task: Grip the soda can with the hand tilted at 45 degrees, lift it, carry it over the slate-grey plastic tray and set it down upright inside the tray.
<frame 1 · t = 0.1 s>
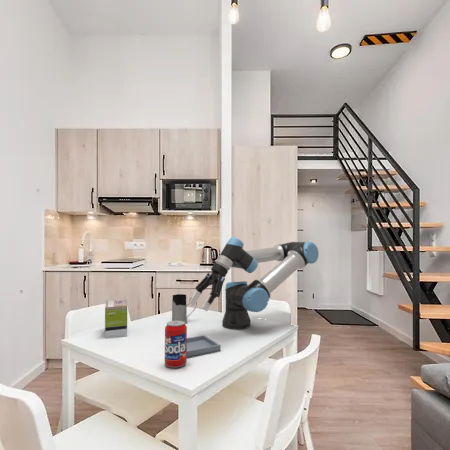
hand: (197, 306, 133), 15 cm above the table, tool tilted 35°, fingers open, 13 cm apart
tray: (195, 348, 124), on the table
tea box: (115, 333, 145), on the table
soda can: (175, 365, 108), on the table
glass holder: (184, 323, 164), on the table
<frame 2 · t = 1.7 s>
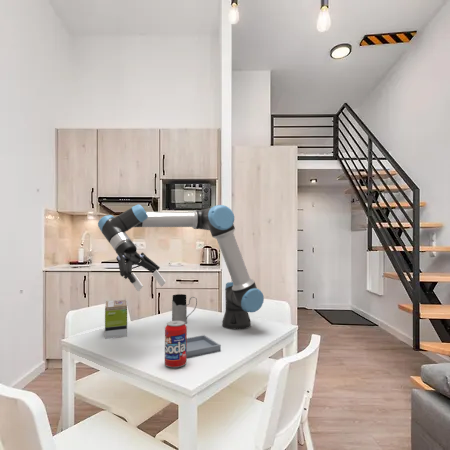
hand: (152, 286, 114), 27 cm above the table, tool tilted 45°, fingers open, 13 cm apart
nothing on the table moved.
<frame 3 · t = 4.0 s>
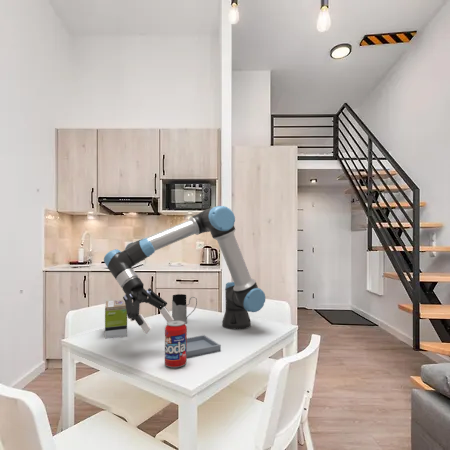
hand: (160, 326, 110), 13 cm above the table, tool tilted 45°, fingers open, 13 cm apart
nothing on the table moved.
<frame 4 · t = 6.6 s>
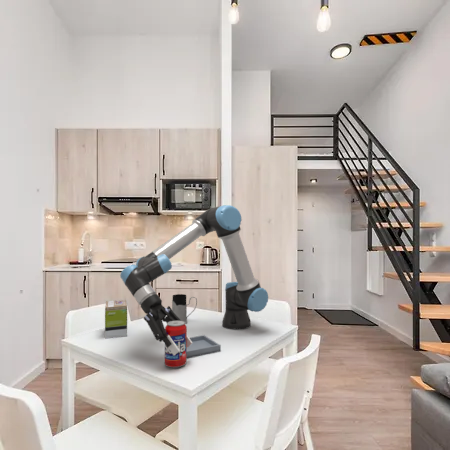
hand: (183, 348, 107), 6 cm above the table, tool tilted 45°, fingers closed on soda can, 8 cm apart
soda can: (175, 365, 108), on the table, touching gripper
everything else where it was.
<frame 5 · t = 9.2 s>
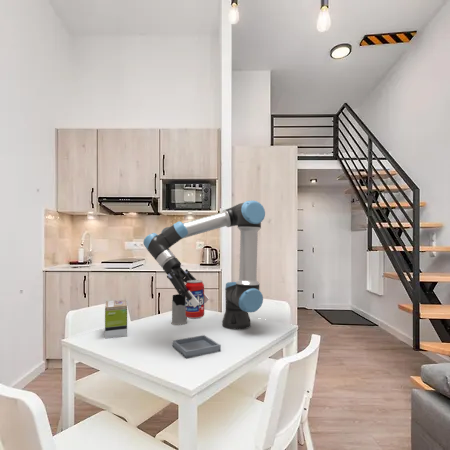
hand: (202, 303, 122), 19 cm above the table, tool tilted 45°, fingers closed on soda can, 8 cm apart
soda can: (194, 317, 123), point 13 cm above the table, touching gripper
everything else where it was.
when the fingers open (9 cm above the table, at t = 11.9 s): soda can drops 2 cm, resting on tray.
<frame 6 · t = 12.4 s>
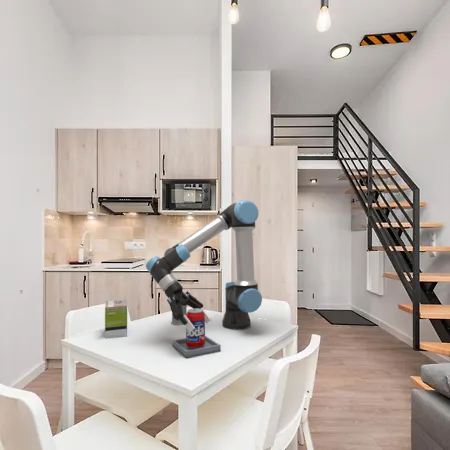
hand: (200, 325, 123), 10 cm above the table, tool tilted 45°, fingers open, 13 cm apart
soda can: (195, 346, 124), point 1 cm above the table, touching tray
everything else where it was.
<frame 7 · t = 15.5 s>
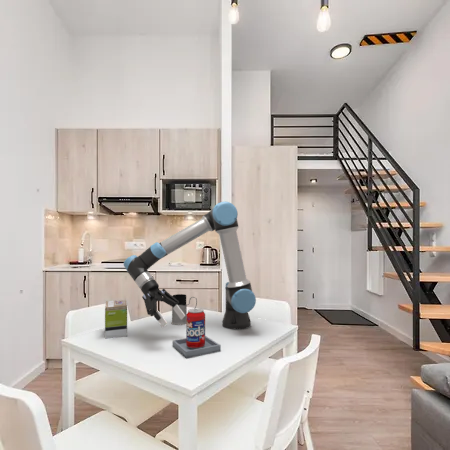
hand: (174, 321, 129), 10 cm above the table, tool tilted 45°, fingers open, 13 cm apart
nothing on the table moved.
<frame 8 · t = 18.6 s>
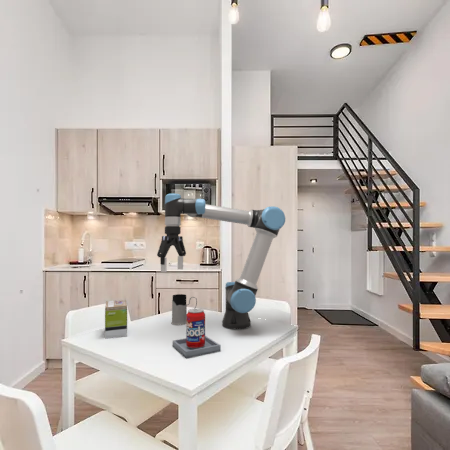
hand: (172, 270, 142), 31 cm above the table, tool pointing down, fingers open, 13 cm apart
nothing on the table moved.
at the end: soda can inside the target area on the tray (0.2 cm from its centre), point 0.6 cm above the tray's base; soda can tilted 0°; the gripper is holding nothing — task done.
